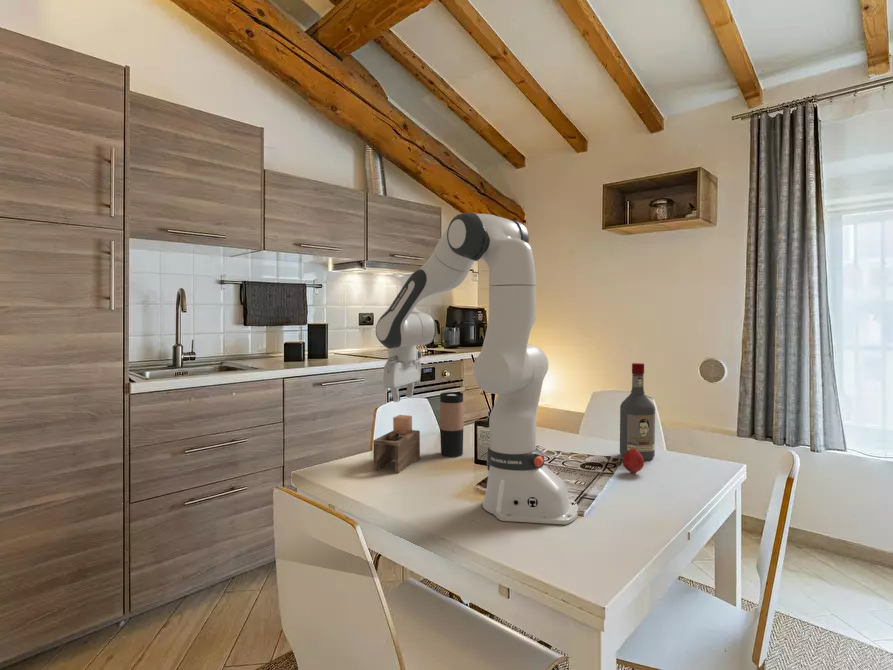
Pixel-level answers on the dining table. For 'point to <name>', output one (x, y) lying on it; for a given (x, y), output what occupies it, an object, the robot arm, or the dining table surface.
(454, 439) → the travel mug
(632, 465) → the onion
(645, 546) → the dining table surface
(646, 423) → the liquor
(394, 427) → the keyed peg
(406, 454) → the dark wooden box
